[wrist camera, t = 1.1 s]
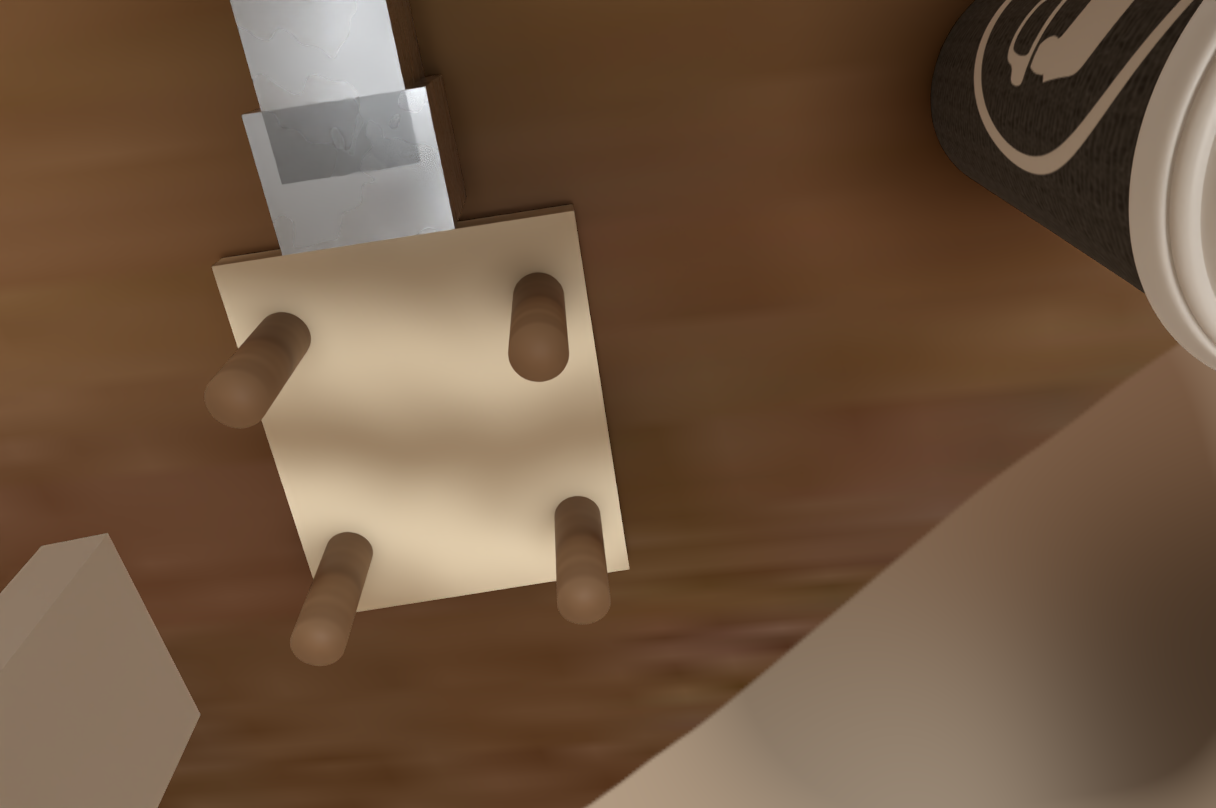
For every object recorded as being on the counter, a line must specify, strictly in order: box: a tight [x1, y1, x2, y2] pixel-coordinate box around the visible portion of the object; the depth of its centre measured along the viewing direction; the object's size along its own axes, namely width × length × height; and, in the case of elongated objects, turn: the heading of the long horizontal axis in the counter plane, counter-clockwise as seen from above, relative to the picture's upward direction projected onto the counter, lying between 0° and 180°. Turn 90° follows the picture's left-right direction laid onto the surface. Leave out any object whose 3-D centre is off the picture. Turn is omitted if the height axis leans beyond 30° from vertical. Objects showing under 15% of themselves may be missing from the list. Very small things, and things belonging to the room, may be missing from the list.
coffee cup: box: [931, 0, 1216, 371], centre depth 21 cm, size 10×10×15 cm
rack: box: [204, 204, 629, 666], centre depth 28 cm, size 13×11×6 cm
